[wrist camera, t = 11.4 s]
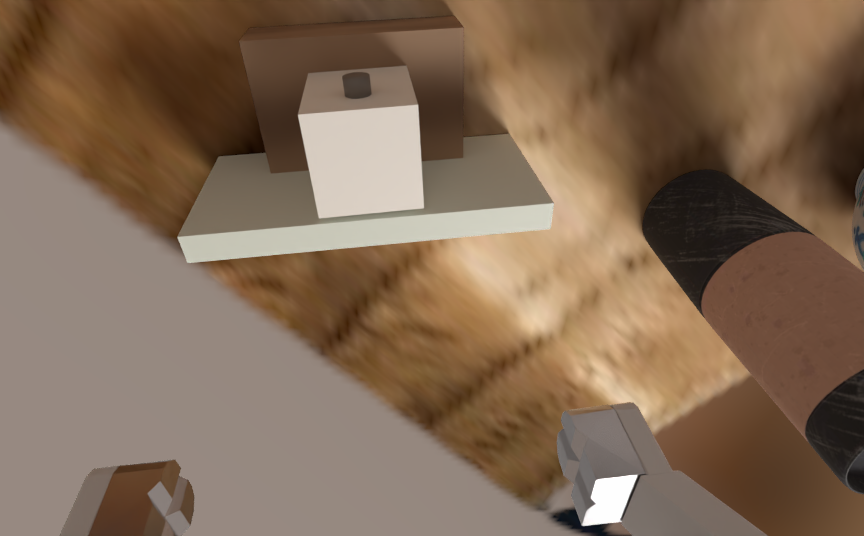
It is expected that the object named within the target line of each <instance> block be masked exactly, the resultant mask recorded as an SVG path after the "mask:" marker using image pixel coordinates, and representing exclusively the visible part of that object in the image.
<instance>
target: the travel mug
mask: <svg viewBox="0 0 864 536" xmlns="http://www.w3.org/2000/svg"><path fill="white" fill-rule="evenodd" d="M643 233H644V236H645V239H646V241H647V242H648V244H649V245H650V247H651V248H652V249H653V251H654V252H655V253H656V255H657V256H658V258H659V259H660V260H661V262H662V263H663V264H664V265H665V267H666V268H667V269H668V271H669V272H670V273H671V275H672V276H673V277H674V279H675V280H676V281H677V283H678V284H679V285H680V287H681V288H682V289H683V291H684V292H685V293H686V295H687V296H688V297H689V298H690V300H691V301H692V302H693V304H694V305H695V306H696V308H697V309H698V310H699V312H700V313H701V314H702V316H703V317H704V318H705V319H706V321H707V322H708V323H709V324H710V326H711V327H712V328H713V329H714V330H715V332H716V333H717V334H718V335H719V336H720V338H721V339H722V340H723V341H724V342H725V344H726V345H727V346H728V347H729V348H730V350H731V351H732V352H733V353H734V354H735V355H736V357H737V358H738V359H739V360H740V361H741V363H742V364H743V365H744V366H745V367H746V369H747V370H748V371H749V372H750V373H751V375H752V376H753V377H754V378H755V379H756V380H757V381H758V383H759V384H760V385H761V386H762V388H763V389H764V390H765V391H766V392H767V394H768V395H769V396H770V397H771V398H772V400H773V401H774V402H775V403H776V404H777V406H778V407H779V408H780V409H781V410H782V411H783V413H784V414H785V415H786V416H787V417H788V419H789V420H790V421H791V422H792V423H793V425H794V426H795V427H796V428H797V429H798V430H799V432H800V433H801V434H802V435H803V437H804V438H805V439H806V440H807V441H808V442H809V443H810V445H811V446H812V447H813V448H814V450H815V451H816V452H817V453H818V454H819V456H820V457H821V458H822V459H823V460H824V462H825V463H826V464H827V465H828V466H829V468H831V470H832V471H833V472H834V474H835V475H836V476H837V477H838V478H839V479H840V481H842V483H843V484H844V485H846V486H847V487H848V488H849V489H850V490H852V491H854V492H857V493H860V494H864V272H862V271H861V270H860V269H859V268H857V267H856V266H855V265H853V264H852V263H851V262H849V261H848V260H847V259H845V258H844V257H843V256H842V255H840V254H839V253H838V252H836V251H835V250H834V249H832V248H831V247H830V246H829V245H827V244H826V243H825V242H823V241H822V240H821V239H819V238H818V237H816V236H815V235H814V234H812V233H811V232H809V231H808V230H807V229H805V228H804V227H802V226H801V225H799V224H798V223H796V222H795V221H794V220H792V219H791V218H789V217H788V216H786V215H785V214H783V213H782V212H780V211H779V210H778V209H776V208H775V207H773V206H772V205H770V204H769V203H767V202H766V201H765V200H763V199H762V198H760V197H759V196H757V195H756V194H754V193H753V192H752V191H750V190H749V189H747V188H746V187H744V186H743V185H741V184H740V183H738V182H737V181H735V180H734V179H732V178H731V177H729V176H727V175H726V174H724V173H721V172H718V171H714V170H698V171H693V172H690V173H687V174H684V175H682V176H680V177H678V178H676V179H674V180H673V181H671V182H670V183H668V184H667V185H666V186H665V187H663V188H662V189H661V190H660V191H659V192H658V193H657V194H656V196H655V197H654V198H653V199H652V201H651V202H650V204H649V206H648V208H647V210H646V212H645V215H644V219H643Z"/></svg>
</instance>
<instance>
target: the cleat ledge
mask: <svg viewBox="0 0 864 536" xmlns="http://www.w3.org/2000/svg"><path fill="white" fill-rule="evenodd" d="M239 44H240V48H241V53H242V57H243V61H244V65H245V69H246V73H247V77H248V81H249V86H250V90H251V94H252V98H253V102H254V106H255V110H256V114H257V119H258V123H259V127H260V131H261V135H262V139H263V143H264V147H265V152H266V156H267V160H268V164H269V168H270V172H271V174H272V173H284V172H297V171H309V167H308V162H307V157H306V152H305V148H304V143H303V138H302V133H301V128H300V123H299V118H298V112H299V108H300V104H301V100H302V96H303V92H304V88H305V84H306V80H307V76H308V73H317V72H330V71H343V70H356V69H369V68H382V67H395V66H407V69H408V72H409V76H410V79H411V82H412V86H413V89H414V92H415V96H416V99H417V102H418V110H419V128H420V145H421V161H431V160H444V159H456V158H463V97H464V27H463V26H462V25H461V23H460V22H459V21H458V20H457V18H456V17H455V16H442V17H425V18H408V19H392V20H375V21H358V22H341V23H324V24H307V25H290V26H273V27H256V28H249V29H248V30H247V31H246V33H245V34H244V35H243V36H242V38H241V39H240V40H239Z"/></svg>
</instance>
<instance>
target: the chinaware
mask: <svg viewBox="0 0 864 536" xmlns="http://www.w3.org/2000/svg"><path fill="white" fill-rule="evenodd" d="M855 196H856V200H857V201H856V204H855V208H854V212H853V219H852V238H853V244H854V248H855V252H856V255H857V258H858V260H859V262H860V265H861V267H862V268H863V270H864V168H863V170H862V172H861V173H860V175H859V178H858V180H857V183H856V187H855Z"/></svg>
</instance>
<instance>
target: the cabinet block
mask: <svg viewBox="0 0 864 536" xmlns="http://www.w3.org/2000/svg"><path fill="white" fill-rule="evenodd" d="M298 118H299V123H300V128H301V133H302V138H303V143H304V148H305V152H306V157H307V162H308V167H309V172H310V177H311V182H312V187H313V192H314V197H315V202H316V207H317V212H318V216H319V218H330V217H340V216H350V215H360V214H371V213H381V212H391V211H401V210H412V209H422V208H424V197H423V180H422V162H421V145H420V128H419V110H418V102H417V99H416V96H415V92H414V89H413V86H412V82H411V79H410V76H409V72H408V69H407V66H395V67H382V68H369V69H356V70H343V71H330V72H317V73H308V76H307V80H306V84H305V88H304V92H303V96H302V100H301V104H300V108H299V112H298Z"/></svg>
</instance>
